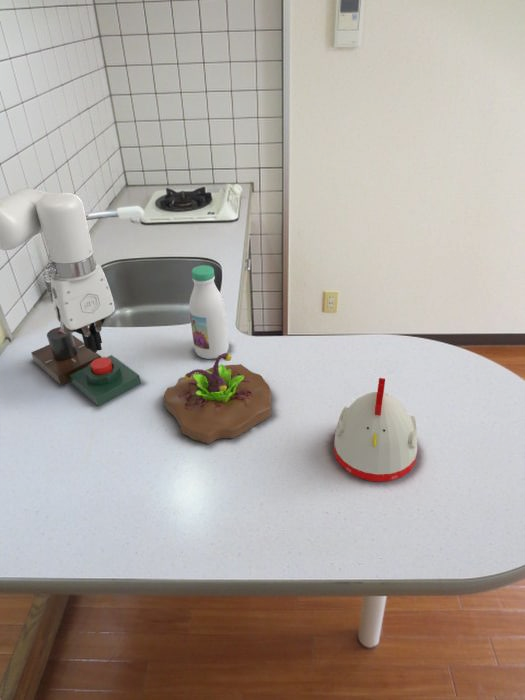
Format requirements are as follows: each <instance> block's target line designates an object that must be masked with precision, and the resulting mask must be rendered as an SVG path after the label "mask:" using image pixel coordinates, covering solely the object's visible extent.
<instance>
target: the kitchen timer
mask: <svg viewBox="0 0 525 700" xmlns="http://www.w3.org/2000/svg"><path fill="white" fill-rule="evenodd" d="M385 385H386V378H385V377H379V378H378V383H377V391H374V392H368V393H365V394H364V395H361V396H360V397H358V398H357V399H356V400H354V401H353V402H352V403H351V404H350V405H349V406H348V407H347V406H346V405H345V406H344V407H343V408H342V411H341V413H340V415H339V417H338V421H337V425H336V428H335V434H334V441H333V442H334V443H333V453H334V456H335V459H336V462H338V464H339V465H340V466H341V467H342V469H344V470H345V471H347V472H348V473H349V474H351V475H352V476H354V477H357V478H360V479H362V480H366V481H371V482H375V483H376V482H379V483H380V482H390V481H394V480H398V479H400V478H402V477H404V476H406V475H408V473H410V472H411V470H412V469H413V468H414V467H415V464H416V460H417V455H418V443H419V442H418V441H419V439H418V428H417V422H416V421H417V420H416V416H414V415H412V416H411V415H410V414H409V412H408V411H407V409H406V407H405V406H404V405H403V404H402V402H400V401H399V400H398V399H397V398H396V397H394V396H393V395H391V394H389V393H386V392H385Z"/></svg>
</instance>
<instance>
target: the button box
mask: <svg viewBox="0 0 525 700" xmlns="http://www.w3.org/2000/svg"><path fill="white" fill-rule="evenodd" d="M106 358H109V359H110V360H111V363H112V367H113V369H112V370H111V371H110V372H108V373H106V374H102V375H95V374H94V373H93V371H92V367H91V363H90V364H89V365H88V366H87V367H85V368H83V369H81V370H79V371H77V372H75V373H73V374H71V375H70V378H71V381H70V382H71V384H72V385H73V386H75V387H76V389H78V390H79V391H80V392H81V393H82V394H84V395H85V396H86V397H87V398H88V399H89V400H90V401H92V402H93V403H94V404H95V405H96V406H98V407H100V406H102V405H104V404H106V403H108V402H110V401H111V400H113V399H115V398H117V397H119V396H121V395H123V394H125V393H126V392H128V391H130V390H132V389H134V388H135V387H137V386H139V385H141V384H142V381H141V377H140V374H138V373H137V372H136V371H134V370H133V369H131V368H130V367H129V366H127V365H126V364H125V363H123V361H120V360H119V359H118V358H117V357H115V356H113V355H112V354H111V355H108V356H106Z"/></svg>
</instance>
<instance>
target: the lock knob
mask: <svg viewBox="0 0 525 700" xmlns="http://www.w3.org/2000/svg"><path fill="white" fill-rule="evenodd" d="M46 339H47V342H48V345H49V344H50V347H51V350H52V353H53V357H54V358H55V359H56V360H67V359H70V358H72V357H74V356H75V355H76V354H77V349H76V346H75V342H74V339H73V333H68V334H64V333H63V332H61V330H60V326H58V327H54V328H53V329H50V330H49V331H48V332H47V333H46Z"/></svg>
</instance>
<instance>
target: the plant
mask: <svg viewBox="0 0 525 700" xmlns="http://www.w3.org/2000/svg"><path fill="white" fill-rule="evenodd" d="M221 359H223V360H224V361H226V362H228V361H231V360H232V355H231V354H230V353H228V352H227V353H224V354H221V355H219V357H218V358H215V362H214V364H213V366H212V367H210V368H207V369H202V368H201V369H200V368H199V369H198V368H197V369H193V370H191V371H190V372H187V373H186V374H185V375H184V376H182V377H181V376H180V378H178V379H177V383H176V384H175V385H173V386H170V387H167V388H166V390H165V391H164V393H163V400H164V401H163V403H164V405H165V409H166V410H167V412H168V413H169V414H171V415H172V416H173V417H174V418H175V419H176V421H177V423H178V424H179V426H180V430H181V434H182V435H184V436H187V437H189V438H190V439H191V440H194V441H197V442H201V443H203V444H204V443H205V444H207V445H210V444H212V443H213V442H215V441H217V440H221V439H235V438H237V437H239V436H241V435H242V434H244V433H246V432H247V431H249V430H251V429H252V428H254V427H255V426H257V425H258V424H260V423H263V422H265V420H268V419H269V418H270V417H272V405H271V403H272V390H271V388H270V386H269V384H268V383H267V382H266V381H265V379H264V378H263V376H262V375H261V374H260V373H257V372H253V371H252V370H250V369H248V368H247V367H246V366H244V365H243V364H241V363H240V364H225V365H224V364H220V360H221ZM219 364H220V365H219Z"/></svg>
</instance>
